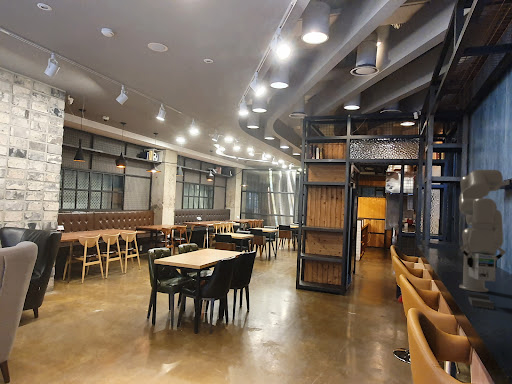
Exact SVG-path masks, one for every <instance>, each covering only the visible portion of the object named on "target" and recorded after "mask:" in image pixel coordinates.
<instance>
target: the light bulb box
mask: <svg viewBox="0 0 512 384" xmlns="http://www.w3.org/2000/svg"><path fill="white" fill-rule="evenodd" d="M495 255H496V254H495ZM495 255H491V254H480V253H473V254H472V256H471V258H472V266H471V267H469V276H470V277H473V278H475V279H477V280H485V282H496V268H495V264H496V256H497V255H496V256H495Z"/></svg>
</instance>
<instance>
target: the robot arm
mask: <svg viewBox="0 0 512 384" xmlns="http://www.w3.org/2000/svg"><path fill="white" fill-rule="evenodd" d="M503 181H504V177H503V174H502V172H501V171H500V170H498V169H474V170H472V171H470V172H469V173H468V174H467V175H463V176H462V177H461V178H460V182H459V183H460V184H459V185H460V190H461V192H460V194H459V197H458V208H459V211H460V213H461V214H462V215H465V223H466V224H467V225H468V226H471V227H467V228H466V227H465V228H464V229H463V230H462V235H461V236H462V243H463V245H462V246H460V247H459V250H460V251H461V252H462V253H463V269H462V274H463V275H462V284H459V288H460V289H461V290H466V291H470V292H477V293H488V292H489V288H487V287H485V284H486V283H485V282H486V281H485V280H477V279H475V278H473V277H470V276H469V267H471V266H472V258H471V256H472V254H473V253H480V254H490V255H495V256H496V264H495V269H497V262H498V260H499V259H501V258H502V257H503V256H504V255H505V254H506V250H505V249H503V248H502V247H503V244H504V229H503V227H504V226H503V217H502V213H501V211H500V210H498V209H497V203H496V202H495V201H494V200H493V199H491V198H487V196H488V195H489V194H490V192H497V191H498V190H499V189H500V188H501V186H502V184H503ZM497 251H498V252H499V254H497Z"/></svg>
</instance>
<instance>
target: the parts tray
mask: <svg viewBox="0 0 512 384" xmlns="http://www.w3.org/2000/svg"><path fill="white" fill-rule="evenodd" d="M468 301H469V303H470V305H471V307H474V308H481V307H482V308H481V309H488V308H489V310H495V303H494V302H492V301H490V296H489V295H485V294H479V293H470V292H468Z"/></svg>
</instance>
